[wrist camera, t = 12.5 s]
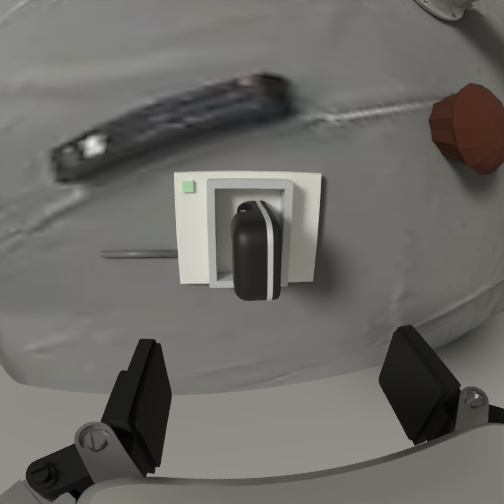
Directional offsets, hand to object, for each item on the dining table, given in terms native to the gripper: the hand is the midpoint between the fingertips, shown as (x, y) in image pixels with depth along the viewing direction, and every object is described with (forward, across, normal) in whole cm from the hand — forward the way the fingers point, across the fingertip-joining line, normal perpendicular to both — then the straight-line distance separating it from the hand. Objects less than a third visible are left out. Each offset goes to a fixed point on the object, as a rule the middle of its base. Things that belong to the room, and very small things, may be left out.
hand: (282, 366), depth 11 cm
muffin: (+25, -28, -14) cm, 40 cm away
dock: (+24, +5, +1) cm, 25 cm away
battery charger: (+23, 0, +1) cm, 23 cm away
